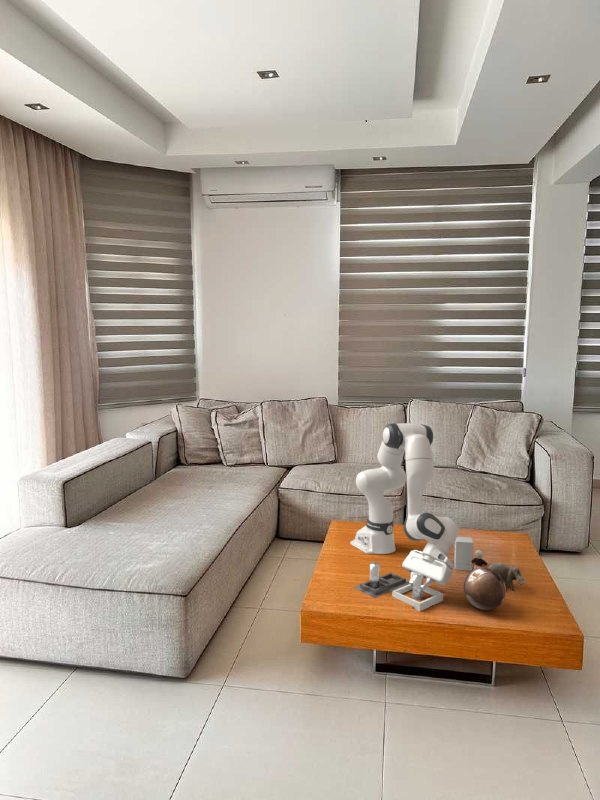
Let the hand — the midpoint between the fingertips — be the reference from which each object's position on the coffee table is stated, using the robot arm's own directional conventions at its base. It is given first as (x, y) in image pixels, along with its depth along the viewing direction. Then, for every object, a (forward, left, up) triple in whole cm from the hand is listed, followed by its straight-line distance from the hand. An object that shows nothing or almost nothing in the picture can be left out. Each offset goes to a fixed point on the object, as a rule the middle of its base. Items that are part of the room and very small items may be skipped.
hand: (416, 586), depth 230 cm
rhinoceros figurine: (+15, +37, -6) cm, 41 cm away
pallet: (-16, -1, -5) cm, 17 cm away
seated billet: (-16, -6, -4) cm, 18 cm away
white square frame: (0, +1, -5) cm, 5 cm away
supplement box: (-8, +41, -6) cm, 42 cm away
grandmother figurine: (+4, +35, -6) cm, 35 cm away
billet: (0, +1, -5) cm, 5 cm away
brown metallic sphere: (+20, +15, -6) cm, 25 cm away
